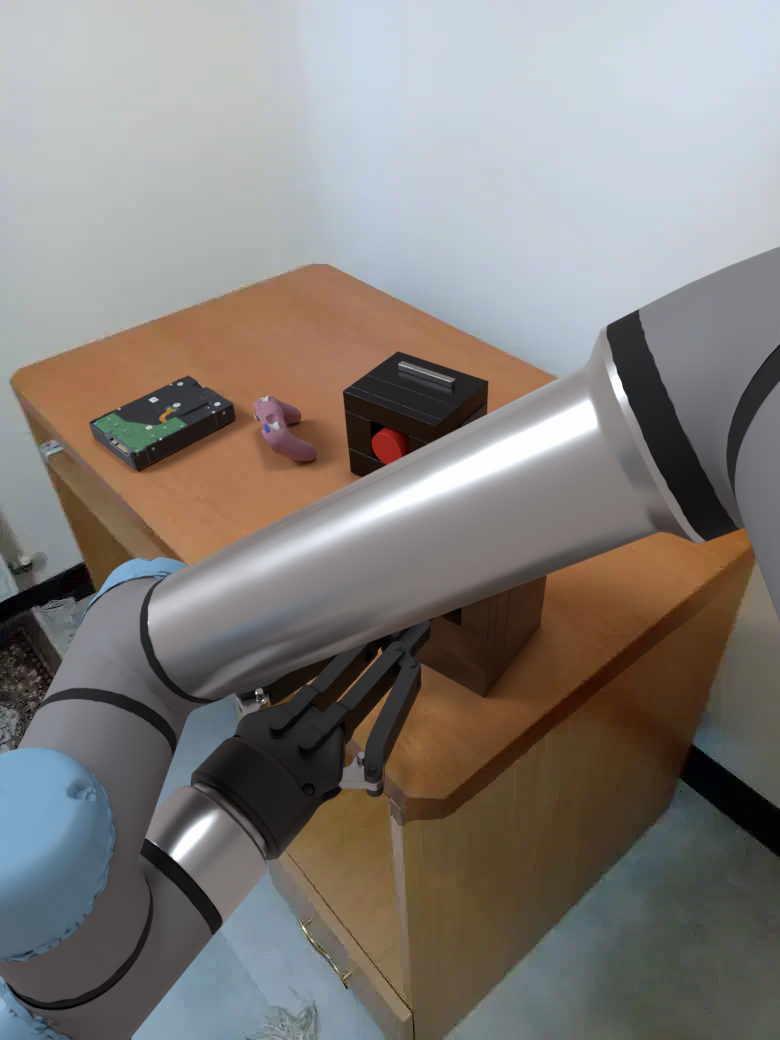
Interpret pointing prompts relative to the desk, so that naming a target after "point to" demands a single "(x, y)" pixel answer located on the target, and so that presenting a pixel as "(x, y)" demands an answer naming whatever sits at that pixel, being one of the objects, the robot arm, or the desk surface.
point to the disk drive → (162, 422)
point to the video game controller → (282, 428)
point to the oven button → (390, 445)
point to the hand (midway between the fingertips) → (436, 591)
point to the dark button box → (408, 406)
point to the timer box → (484, 636)
